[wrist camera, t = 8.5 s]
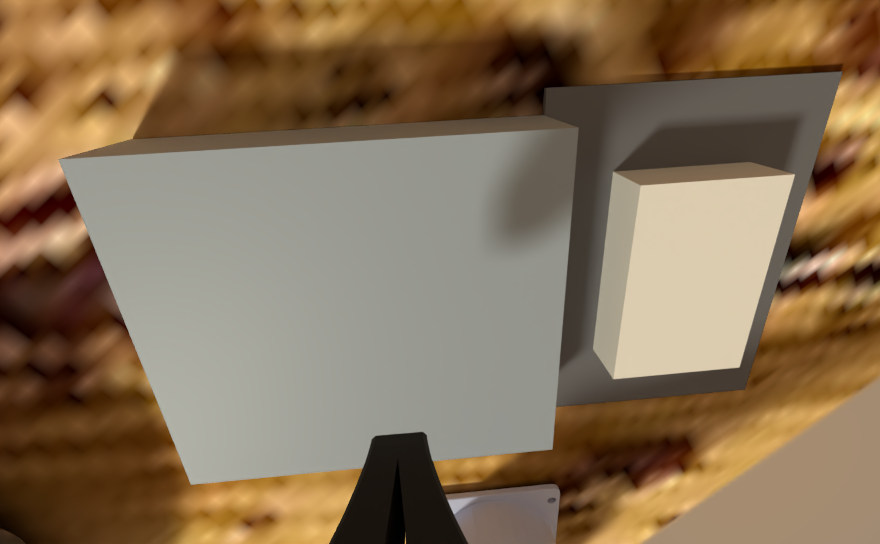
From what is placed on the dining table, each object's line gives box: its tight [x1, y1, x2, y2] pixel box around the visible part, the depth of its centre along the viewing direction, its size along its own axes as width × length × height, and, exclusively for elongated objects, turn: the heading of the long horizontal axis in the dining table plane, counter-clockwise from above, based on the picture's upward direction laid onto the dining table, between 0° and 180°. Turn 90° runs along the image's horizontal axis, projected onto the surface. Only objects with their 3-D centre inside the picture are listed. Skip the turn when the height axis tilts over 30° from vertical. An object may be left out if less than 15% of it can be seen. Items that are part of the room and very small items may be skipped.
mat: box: [543, 72, 842, 407], centre depth 21 cm, size 16×12×1 cm
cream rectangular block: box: [593, 162, 795, 379], centre depth 20 cm, size 9×6×2 cm, turn 3°
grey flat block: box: [58, 115, 579, 485], centre depth 19 cm, size 14×16×4 cm
